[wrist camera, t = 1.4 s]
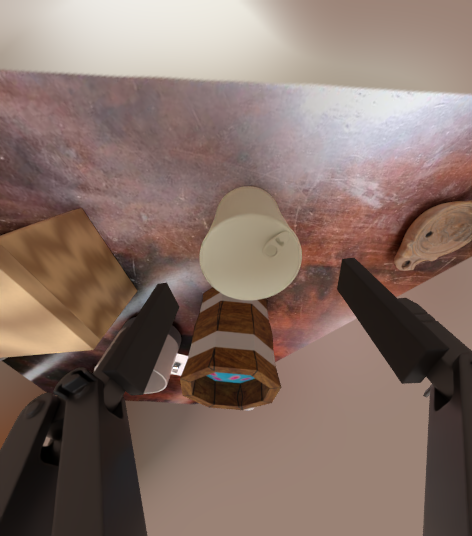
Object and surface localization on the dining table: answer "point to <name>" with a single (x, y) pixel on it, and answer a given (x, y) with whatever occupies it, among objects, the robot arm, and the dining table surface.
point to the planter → (164, 361)
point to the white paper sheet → (179, 364)
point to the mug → (231, 355)
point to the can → (249, 247)
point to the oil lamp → (435, 234)
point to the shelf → (58, 287)
